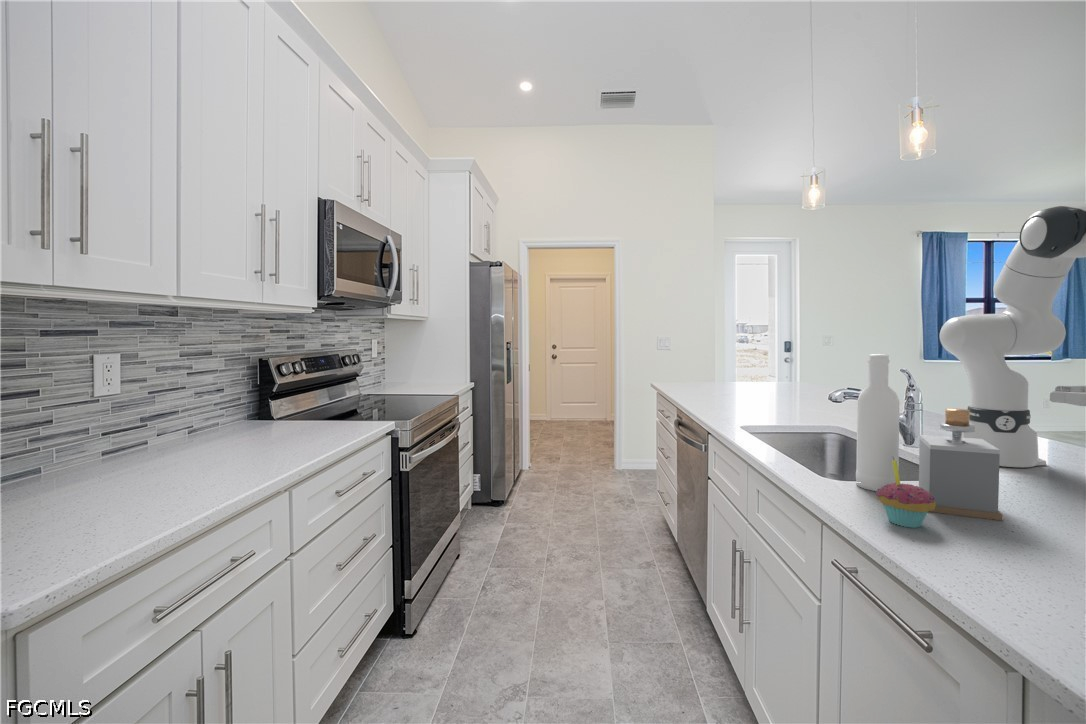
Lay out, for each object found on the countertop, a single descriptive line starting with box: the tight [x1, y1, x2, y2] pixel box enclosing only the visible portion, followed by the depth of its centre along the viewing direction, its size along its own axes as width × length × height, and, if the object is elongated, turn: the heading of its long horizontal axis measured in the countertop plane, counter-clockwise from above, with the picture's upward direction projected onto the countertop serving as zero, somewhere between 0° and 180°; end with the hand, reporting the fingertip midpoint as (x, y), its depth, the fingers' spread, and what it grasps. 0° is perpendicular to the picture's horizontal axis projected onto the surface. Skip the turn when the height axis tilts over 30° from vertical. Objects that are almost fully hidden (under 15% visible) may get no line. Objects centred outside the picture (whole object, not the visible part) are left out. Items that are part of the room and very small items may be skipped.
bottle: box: [855, 353, 901, 492], centre depth 106 cm, size 8×8×30 cm
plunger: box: [939, 407, 975, 444], centre depth 93 cm, size 8×8×18 cm
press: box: [918, 434, 1004, 521], centre depth 94 cm, size 11×11×13 cm
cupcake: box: [875, 456, 936, 529], centre depth 86 cm, size 9×8×12 cm
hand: (1052, 393), depth 84 cm, fingers open, 8 cm apart
